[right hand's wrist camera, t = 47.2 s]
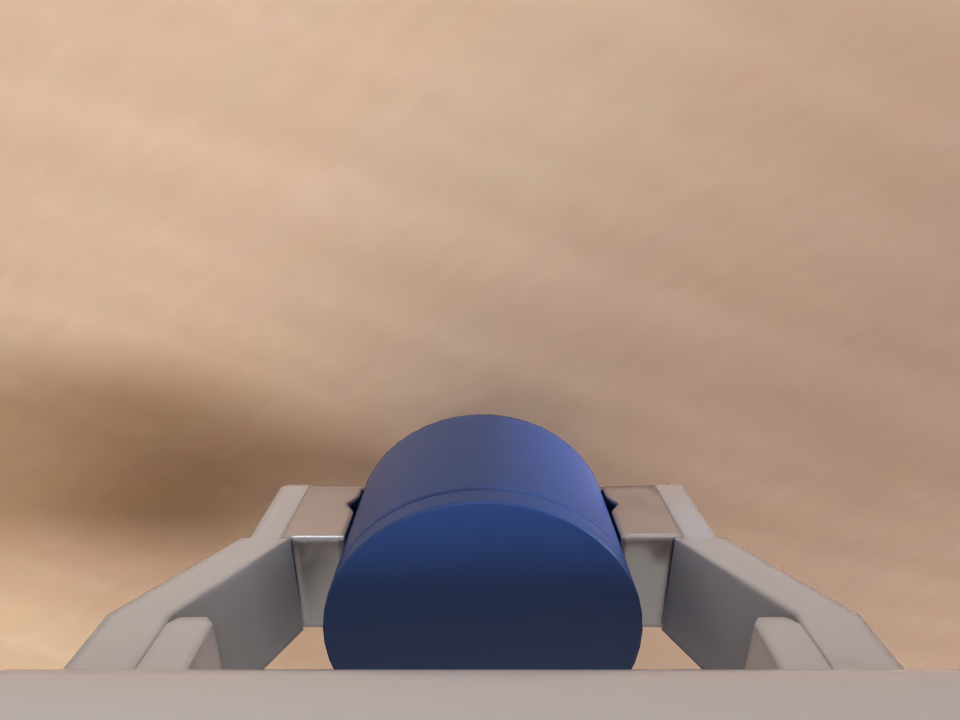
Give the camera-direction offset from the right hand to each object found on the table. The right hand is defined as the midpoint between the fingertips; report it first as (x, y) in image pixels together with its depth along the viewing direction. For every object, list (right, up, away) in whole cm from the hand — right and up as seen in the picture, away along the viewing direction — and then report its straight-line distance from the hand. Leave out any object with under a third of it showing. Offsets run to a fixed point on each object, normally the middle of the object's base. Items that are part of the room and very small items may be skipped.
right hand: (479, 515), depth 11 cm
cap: (0, 0, 0) cm, 0 cm away
